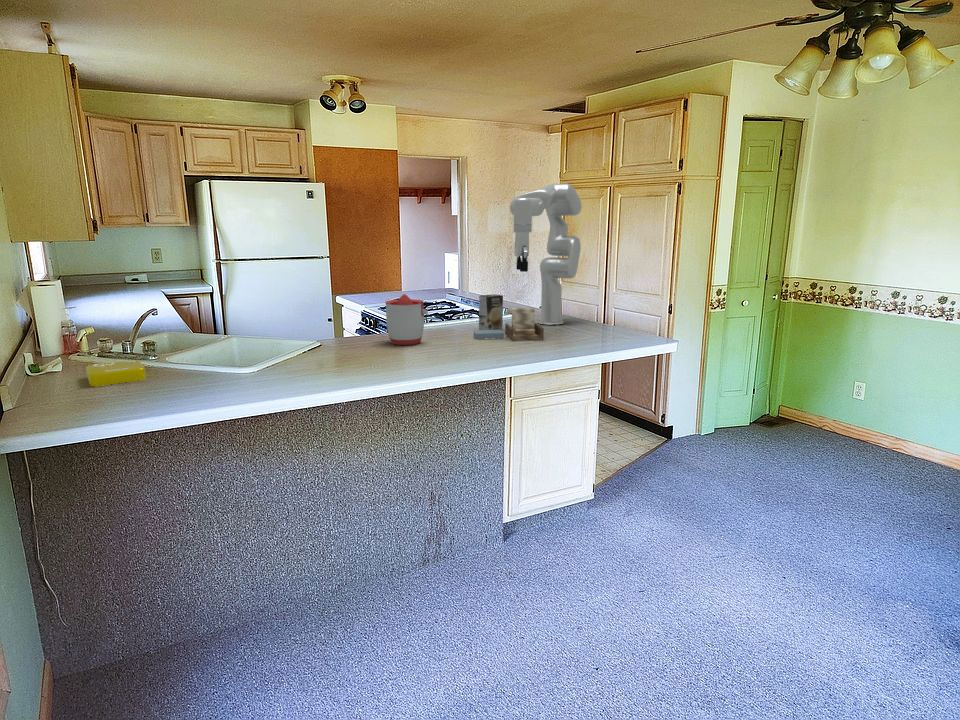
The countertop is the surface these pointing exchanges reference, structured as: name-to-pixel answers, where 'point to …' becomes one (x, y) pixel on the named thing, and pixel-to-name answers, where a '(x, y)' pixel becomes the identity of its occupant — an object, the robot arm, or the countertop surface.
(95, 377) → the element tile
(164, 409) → the countertop surface
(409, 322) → the citrus juicer
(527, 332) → the upper oak offcut
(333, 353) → the countertop surface
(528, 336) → the walnut rack
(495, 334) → the slate board
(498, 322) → the coffee box
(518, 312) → the tall cream block
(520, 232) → the robot arm
